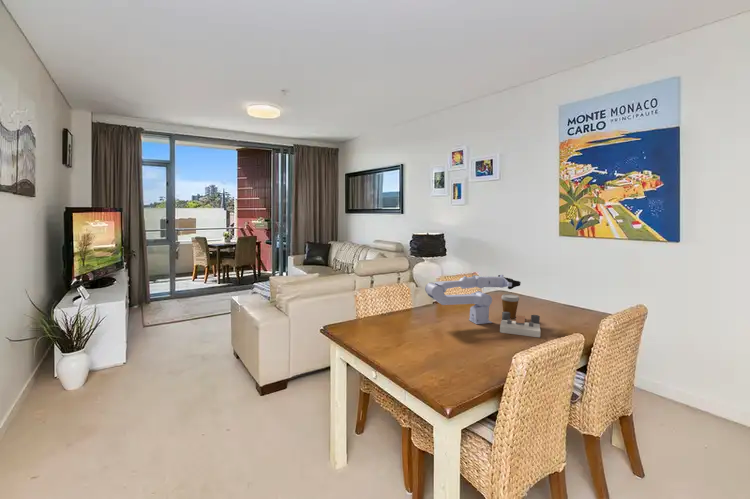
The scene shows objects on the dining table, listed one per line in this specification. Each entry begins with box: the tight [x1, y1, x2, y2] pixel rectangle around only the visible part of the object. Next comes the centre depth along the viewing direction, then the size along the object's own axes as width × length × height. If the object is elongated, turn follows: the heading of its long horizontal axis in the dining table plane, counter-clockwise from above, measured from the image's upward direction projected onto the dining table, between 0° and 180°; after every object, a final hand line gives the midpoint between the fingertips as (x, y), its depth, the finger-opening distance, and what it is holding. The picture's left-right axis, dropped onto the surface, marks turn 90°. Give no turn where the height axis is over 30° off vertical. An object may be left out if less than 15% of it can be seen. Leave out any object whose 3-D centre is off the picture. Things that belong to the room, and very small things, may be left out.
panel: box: [499, 319, 541, 338], centre depth 182 cm, size 12×18×5 cm, turn 68°
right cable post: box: [530, 314, 540, 324], centre depth 188 cm, size 4×4×6 cm
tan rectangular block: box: [515, 314, 526, 325], centre depth 183 cm, size 1×4×4 cm, turn 69°
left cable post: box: [501, 311, 511, 320], centre depth 193 cm, size 4×4×6 cm
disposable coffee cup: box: [500, 293, 520, 320], centre depth 205 cm, size 10×10×12 cm
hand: (515, 282), depth 200 cm, fingers open, 7 cm apart
